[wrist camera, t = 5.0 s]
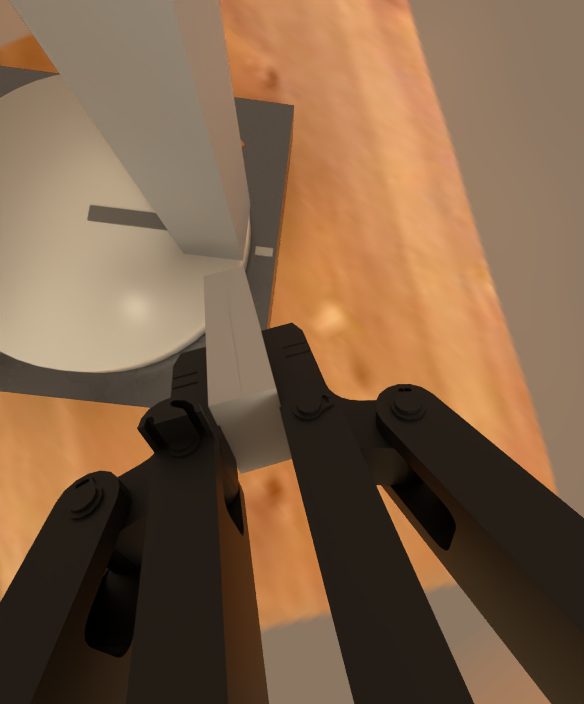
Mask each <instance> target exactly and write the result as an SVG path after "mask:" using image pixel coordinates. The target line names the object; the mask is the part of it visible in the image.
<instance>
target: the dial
mask: <svg viewBox="0 0 584 704" xmlns="http://www.w3.org/2000/svg"><path fill="white" fill-rule="evenodd" d="M9 1H10V3H11V4H12V6H13V7H14V9H15V10H16V11H17V13H18V14H19V16H20V17H21V19H22V20H23V22H24V23H25V25H26V26H27V28H28V29H29V30H30V32H31V33H32V35H33V36H34V38H35V39H36V41H37V42H38V43H39V45H40V46H41V48H42V49H43V51H44V52H45V54H46V55H47V56H48V58H49V59H50V61H51V62H52V64H53V65H54V67H55V68H56V69H57V71H58V72H59V74H60V75H55V76H51V77H47V78H44V79H40V80H37V81H34V82H32V83H29V84H27V85H24V86H22V87H19V88H17V89H15V90H13V91H12V92H10V93H8V94H6V95H4V96H2V97H1V98H0V352H2V353H5V354H7V355H9V356H11V357H13V358H15V359H17V360H20V361H23V362H27V363H30V364H33V365H36V366H40V367H46V368H51V369H57V370H65V371H76V372H90V373H111V372H123V371H128V370H132V369H137V368H142V367H145V366H148V365H151V364H154V363H157V362H159V361H162V360H164V359H166V358H168V357H170V356H172V355H174V354H176V353H178V352H180V351H181V350H183V349H184V348H186V347H187V346H189V345H190V344H192V343H193V342H195V341H196V340H197V339H198V338H199V337H201V336H202V335H203V334H204V333H205V332H206V330H205V303H204V276H205V275H209V274H213V273H217V272H221V271H225V270H229V269H233V268H237V267H241V266H244V270H245V269H246V267H247V262H248V257H249V252H250V242H251V223H250V199H249V193H248V186H247V179H246V173H245V166H244V160H243V153H242V147H241V140H240V133H239V127H238V120H237V114H236V107H235V101H234V94H233V87H232V81H231V74H230V68H229V61H228V55H227V48H226V41H225V35H224V28H223V22H222V15H221V9H220V2H219V0H9Z"/></svg>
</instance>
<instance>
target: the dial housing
mask: <svg viewBox="0 0 584 704" xmlns="http://www.w3.org/2000/svg"><path fill="white" fill-rule="evenodd" d="M55 75H60V74H57V73H49V72H42V71H35V70H27V69H20V68H12V67H5V66H0V98H1V97H2V96H4V95H6V94H8V93H10V92H12V91H13V90H15V89H17V88H19V87H22V86H24V85H27V84H29V83H32V82H34V81H37V80H40V79H44V78H47V77H51V76H55ZM234 101H235V107H236V114H237V120H238V127H239V133H240V140H241V147H242V153H243V160H244V166H245V173H246V179H247V186H248V193H249V199H250V223H251V242H250V252H249V257H248V262H247V267H246V269H245V273H246V277H247V280H248V284H249V288H250V291H251V295H252V299H253V302H254V306H255V310H256V313H257V317H258V321H259V324H260V328H261V331H262V330H266V329H270V321H271V313H272V305H273V296H274V288H275V280H276V271H277V263H278V255H279V247H280V238H281V230H282V222H283V213H284V205H285V197H286V189H287V180H288V172H289V164H290V155H291V147H292V136H293V118H294V105H287V104H280V103H272V102H265V101H257V100H250V99H243V98H235V97H234ZM203 347H206V332H205V333H204V334H203V335H202V336H201V337H199V338H198V339H197V340H196V341H195V342H193V343H192V344H190V345H189V346H187V347H186V348H184V349H183V350H181V351H180V352H178V353H176V354H174V355H172V356H170V357H168V358H166V359H164V360H162V361H159V362H157V363H154V364H151V365H148V366H145V367H142V368H137V369H132V370H128V371H123V372H111V373H90V372H76V371H65V370H57V369H51V368H46V367H40V366H36V365H33V364H30V363H27V362H23V361H20V360H17V359H15V358H13V357H11V356H9V355H7V354H5V353H2V352H0V391H3V392H12V393H21V394H30V395H39V396H48V397H57V398H67V399H76V400H85V401H94V402H103V403H112V404H121V405H131V406H140V407H149V408H152V407H153V406H155V405H156V404H157V403H159V402H160V401H163V400H165V399H168V398H170V397H171V391H172V389H171V386H172V381H173V379H172V374H173V365H174V364H175V362H176V360H177V359H178V357H179V355H180V354H181V353H184V352H188V351H191V350H195V349H199V348H203Z"/></svg>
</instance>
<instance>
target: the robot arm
mask: <svg viewBox="0 0 584 704" xmlns="http://www.w3.org/2000/svg"><path fill="white" fill-rule="evenodd" d="M204 303H205V330H206V347H203V348H199V349H195V350H191V351H188V352H184V353H181V354H180V355H179V357H178V359H177V360H176V362H175V364H174V365H173V374H172V379H173V381H172V386H171V389H172V391H171V397H170V398H168V399H165V400H163V401H160V402H159V403H157V404H156V405H155V406H153V407H152V408H150V409H149V410H148V411H147V413H146V414H145V415H144V416H143V417H142V418H141V421H140V423H139V426H138V428H137V429H138V431H139V432H140V433H141V435H142V436H143V437H144V439H145V440H146V442H147V443H148V444H149V446H150V447H151V448H152V450H153V451H154V454H153V455H152V456H151V457H150V458H149V459H148V460H146V461H145V462H143V463H142V464H140V465H138V466H137V467H135V468H133V469H131V470H130V471H128V472H126V473H124V474H123V475H121V476H119V477H116V476H115V475H114V474H113V473H111V472H107V471H97V472H93V473H89V474H87V475H85V476H84V477H82V478H80V479H78V480H76V481H75V482H74V483H73V484H72V485H71V486H70V487H68V488H67V489H66V490H65V491H64V492H63V494H62V495H61V497H60V498H59V499H58V501H57V502H56V503H55V505H54V507H53V509H52V511H51V512H50V514H49V516H48V518H47V520H46V521H45V523H44V525H43V527H42V529H41V530H40V532H39V534H38V536H37V538H36V539H35V541H34V543H33V545H32V546H31V548H30V550H29V552H28V554H27V555H26V557H25V559H24V561H23V563H22V564H21V566H20V568H19V570H18V572H17V573H16V575H15V577H14V579H13V581H12V582H11V584H10V586H9V588H8V590H7V591H6V593H5V595H4V597H3V598H2V600H1V602H0V704H269V700H268V692H267V684H266V676H265V667H264V658H263V650H262V642H261V633H260V625H259V617H258V608H257V600H256V592H255V583H254V575H253V566H252V558H251V550H250V541H249V533H248V525H247V516H246V508H245V500H244V493H243V490H242V487H241V485H240V483H239V481H238V473H237V467H238V469H239V471H240V473H245V472H248V471H252V470H255V469H259V468H262V467H265V466H269V465H272V464H276V463H279V462H282V461H286V460H289V459H292V461H293V465H294V468H295V472H296V476H297V480H298V484H299V488H300V492H301V496H302V500H303V504H304V508H305V512H306V516H307V520H308V523H309V527H310V531H311V535H312V539H313V543H314V547H315V551H316V555H317V559H318V563H319V567H320V571H321V575H322V578H323V582H324V586H325V590H326V594H327V598H328V602H329V606H330V610H331V614H332V618H333V621H334V625H335V630H336V633H337V637H338V641H339V645H340V649H341V653H342V657H343V661H344V665H345V669H346V673H347V677H348V680H349V684H350V688H351V692H352V696H353V700H354V704H474V703H473V700H472V698H471V695H470V693H469V691H468V689H467V687H466V685H465V682H464V680H463V678H462V676H461V673H460V671H459V669H458V667H457V665H456V662H455V660H454V658H453V655H452V653H451V651H450V649H449V647H448V644H447V642H446V640H445V638H444V635H443V633H442V631H441V629H440V627H439V624H438V622H437V620H436V618H435V615H434V613H433V611H432V609H431V606H430V604H429V602H428V600H427V598H426V595H425V593H424V591H423V589H422V586H421V584H420V582H419V580H418V578H417V575H416V573H415V571H414V569H413V566H412V564H411V562H410V560H409V557H408V555H407V553H406V551H405V549H404V546H403V544H402V542H401V540H400V537H399V535H398V533H397V531H396V529H395V526H394V524H393V522H392V520H391V517H390V515H389V513H388V511H387V509H386V506H385V504H384V502H383V500H382V497H381V495H380V493H379V491H378V489H377V486H376V485H381V486H382V487H383V488H384V490H385V491H386V492H387V493H388V495H389V496H390V497H391V499H392V500H393V501H394V502H395V504H396V505H397V506H398V508H399V509H400V510H401V511H402V513H403V514H404V515H405V516H406V518H407V519H408V520H409V522H410V523H411V524H412V525H413V527H414V528H415V529H416V531H417V532H418V533H419V534H420V536H421V537H422V538H423V540H424V541H425V542H426V543H427V545H428V546H429V547H430V549H431V550H432V551H433V552H434V554H435V555H436V556H437V558H438V559H439V560H440V561H441V563H442V564H443V565H444V567H445V568H446V569H447V570H448V572H449V573H450V574H451V576H452V577H453V578H454V579H455V581H456V582H457V583H458V585H459V586H460V587H461V588H462V590H463V591H464V592H465V593H466V595H467V596H468V597H469V598H470V600H471V601H472V602H473V604H474V605H475V606H476V608H477V609H478V610H479V611H480V613H481V614H482V615H483V616H484V618H485V619H486V620H487V622H488V623H489V624H490V626H491V627H492V628H493V629H494V631H495V632H496V633H497V634H498V636H499V637H500V638H501V639H502V641H503V642H504V643H505V645H506V646H507V647H508V649H509V650H510V651H511V653H512V654H513V655H514V656H515V658H516V659H517V660H518V662H519V663H520V664H521V665H522V666H523V668H524V669H525V671H526V672H527V673H528V674H529V676H530V677H531V678H532V679H533V681H534V682H535V683H536V685H537V686H538V687H539V689H540V690H541V691H542V692H543V694H544V695H545V696H546V697H547V699H548V700H549V701H550V703H551V704H584V518H583V517H582V516H580V515H579V514H578V513H577V512H576V511H574V510H573V509H572V508H571V507H570V506H568V505H567V504H566V503H565V502H563V501H562V500H561V499H560V498H559V497H557V496H556V495H555V494H554V493H553V492H551V491H550V490H549V489H548V488H546V487H545V486H544V485H543V484H542V483H540V482H539V481H538V480H537V479H536V478H534V477H533V476H532V475H531V474H529V473H528V472H527V471H526V470H525V469H523V468H522V467H521V466H520V465H519V464H517V463H516V462H515V461H514V460H512V459H511V458H510V457H509V456H508V455H506V454H505V453H504V452H503V451H502V450H500V449H499V448H498V447H497V446H495V445H494V444H493V443H492V442H491V441H489V440H488V439H487V438H486V437H485V436H483V435H482V434H481V433H480V432H478V431H477V430H476V429H475V428H474V427H472V426H471V425H470V424H469V423H468V422H466V421H465V420H464V419H463V418H461V417H460V416H459V415H458V414H457V413H455V412H454V411H453V410H452V409H451V408H449V407H448V406H447V405H446V404H444V403H443V402H442V401H441V400H440V399H438V398H437V397H436V396H435V395H434V394H432V393H431V392H429V391H427V390H426V389H424V388H422V387H419V386H415V385H411V384H397V385H394V386H391V387H388V388H386V389H385V390H384V391H382V392H381V393H380V394H379V396H378V398H377V400H365V401H358V400H348V399H345V398H341V397H339V396H337V395H336V394H334V393H333V392H332V391H331V390H329V388H328V387H327V385H326V383H325V381H324V379H323V376H322V374H321V372H320V370H319V367H318V365H317V363H316V361H315V358H314V356H313V354H312V352H311V349H310V347H309V345H308V343H307V340H306V338H305V335H304V333H303V331H302V330H301V329H300V328H298V327H297V326H296V325H294V324H293V323H289V324H285V325H281V326H278V327H274V328H270V329H266V330H262V331H261V328H260V324H259V321H258V317H257V313H256V310H255V306H254V302H253V299H252V295H251V291H250V288H249V284H248V280H247V277H246V273H245V270H244V266H241V267H237V268H233V269H229V270H225V271H221V272H217V273H213V274H209V275H205V276H204Z"/></svg>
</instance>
